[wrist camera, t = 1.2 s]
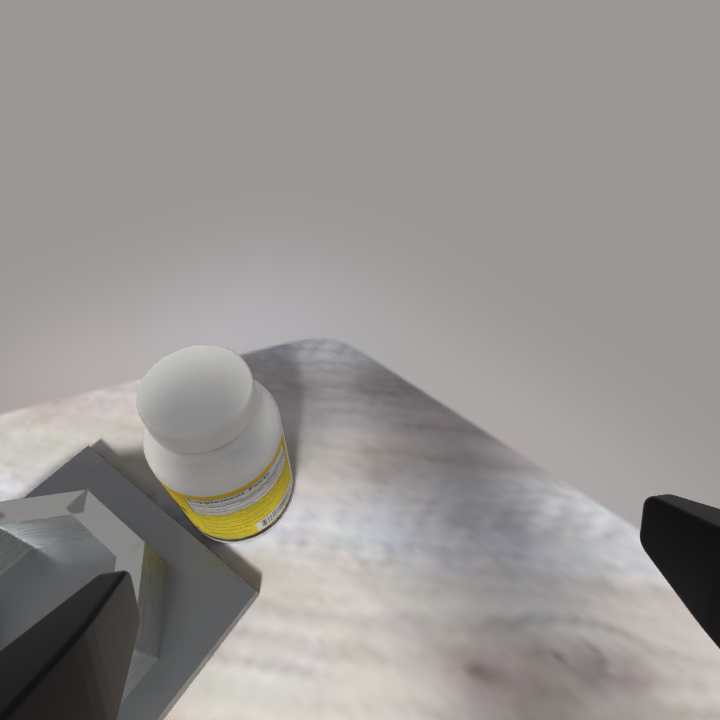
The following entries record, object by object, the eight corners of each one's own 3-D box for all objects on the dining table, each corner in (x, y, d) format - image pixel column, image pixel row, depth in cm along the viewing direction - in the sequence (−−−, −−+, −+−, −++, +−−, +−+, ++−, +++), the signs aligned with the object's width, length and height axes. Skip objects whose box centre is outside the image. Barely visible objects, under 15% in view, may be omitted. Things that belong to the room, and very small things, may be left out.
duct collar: (-5, 937, 14) (-94, 996, 11) (-169, 671, 18) (-269, 662, 15) (259, 594, 21) (246, 573, 18) (94, 452, 24) (61, 415, 21)
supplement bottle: (190, 453, 25) (126, 335, 17) (290, 440, 25) (271, 322, 18) (184, 556, 21) (100, 467, 14) (298, 537, 22) (279, 444, 14)
